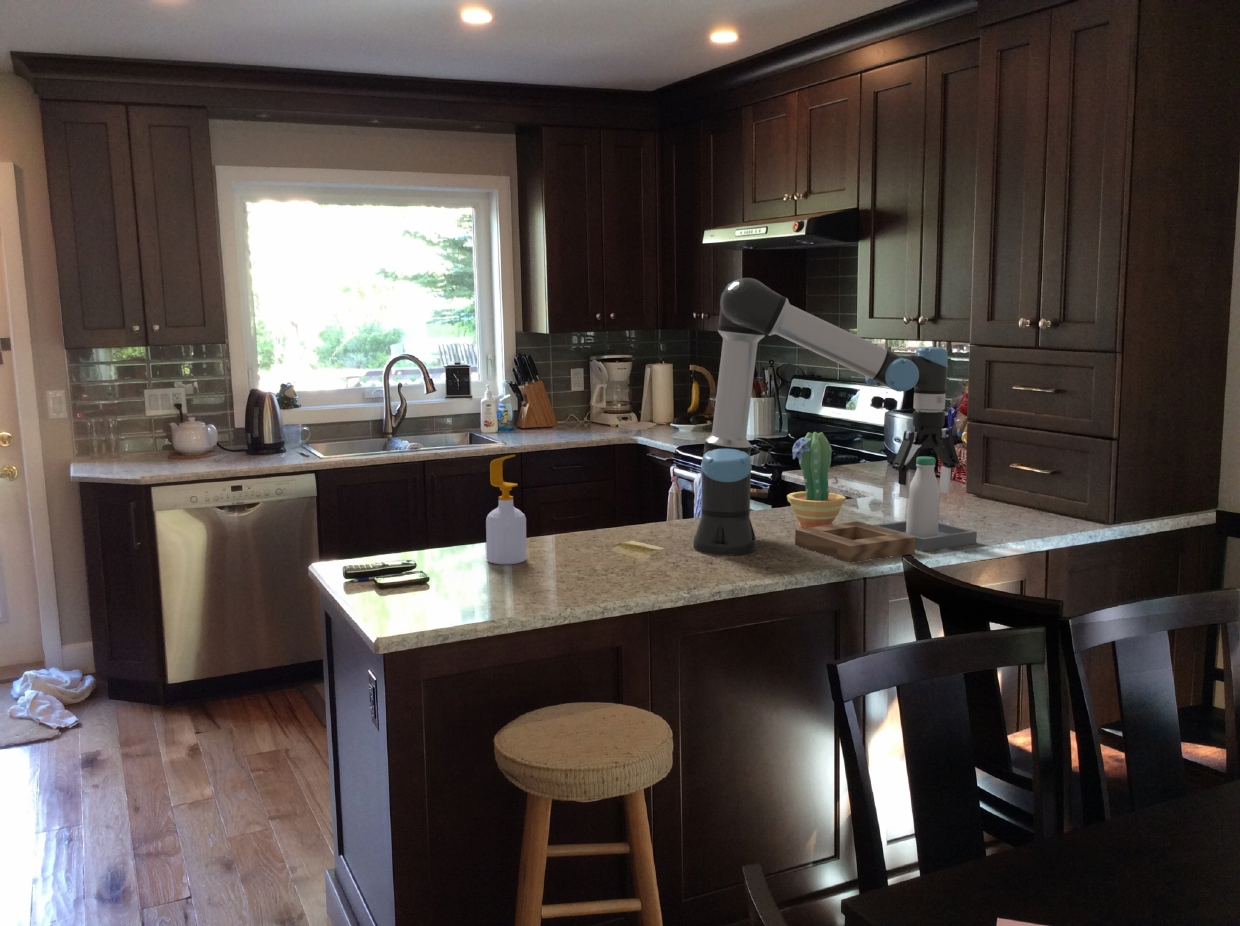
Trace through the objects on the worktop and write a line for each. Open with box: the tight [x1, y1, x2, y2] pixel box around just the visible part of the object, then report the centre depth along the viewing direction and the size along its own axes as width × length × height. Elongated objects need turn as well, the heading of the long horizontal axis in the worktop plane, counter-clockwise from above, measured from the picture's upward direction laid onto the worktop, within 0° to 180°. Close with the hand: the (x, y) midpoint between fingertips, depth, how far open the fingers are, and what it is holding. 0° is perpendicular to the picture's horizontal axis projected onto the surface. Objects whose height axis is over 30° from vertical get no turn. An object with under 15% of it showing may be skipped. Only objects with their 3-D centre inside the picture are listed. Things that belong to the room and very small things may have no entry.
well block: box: [794, 521, 916, 564], centre depth 254 cm, size 20×20×4 cm
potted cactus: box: [786, 431, 847, 528], centre depth 279 cm, size 15×15×25 cm
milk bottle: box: [906, 455, 941, 538], centre depth 262 cm, size 8×8×20 cm
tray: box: [872, 520, 978, 552], centre depth 264 cm, size 18×18×3 cm
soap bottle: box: [485, 454, 527, 566], centre depth 240 cm, size 9×9×25 cm
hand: (924, 495), depth 262 cm, fingers open, 13 cm apart
